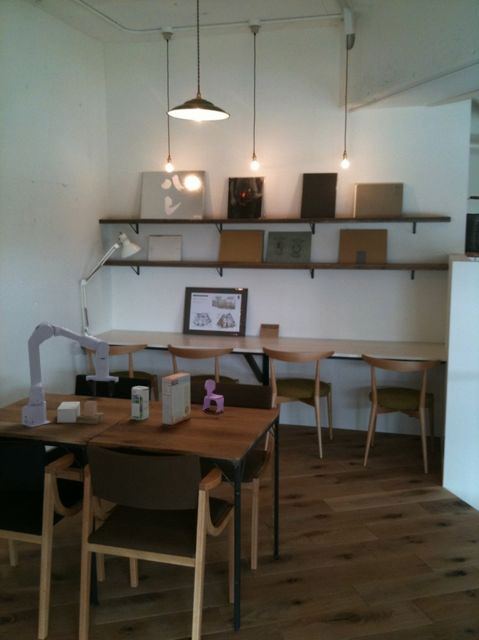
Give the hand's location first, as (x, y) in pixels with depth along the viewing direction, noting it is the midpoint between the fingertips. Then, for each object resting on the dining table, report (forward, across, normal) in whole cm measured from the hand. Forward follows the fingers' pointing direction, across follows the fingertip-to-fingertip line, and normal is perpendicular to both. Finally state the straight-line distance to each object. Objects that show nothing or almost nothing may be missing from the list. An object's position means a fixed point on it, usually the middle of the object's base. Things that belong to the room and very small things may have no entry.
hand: (102, 396), depth 255 cm
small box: (+7, +16, -2) cm, 17 cm away
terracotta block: (+8, +4, +5) cm, 10 cm away
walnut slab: (+10, +4, +4) cm, 12 cm away
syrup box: (+10, -17, -3) cm, 20 cm away
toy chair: (+10, -47, -23) cm, 53 cm away
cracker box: (+10, -34, -2) cm, 35 cm away
